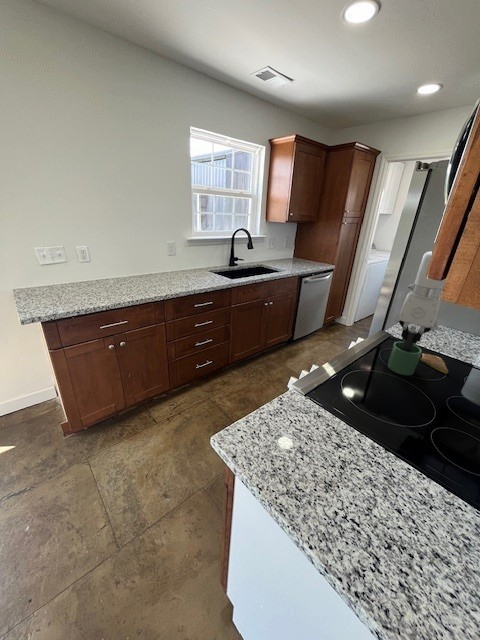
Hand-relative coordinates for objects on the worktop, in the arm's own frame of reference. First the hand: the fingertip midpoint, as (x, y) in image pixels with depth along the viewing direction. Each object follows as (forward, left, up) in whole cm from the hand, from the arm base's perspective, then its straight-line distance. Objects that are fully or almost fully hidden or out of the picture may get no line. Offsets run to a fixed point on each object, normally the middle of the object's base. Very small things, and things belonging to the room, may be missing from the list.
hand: (409, 340), depth 93 cm
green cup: (0, 0, -12) cm, 12 cm away
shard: (-2, -16, -12) cm, 20 cm away
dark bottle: (0, 0, -6) cm, 6 cm away
